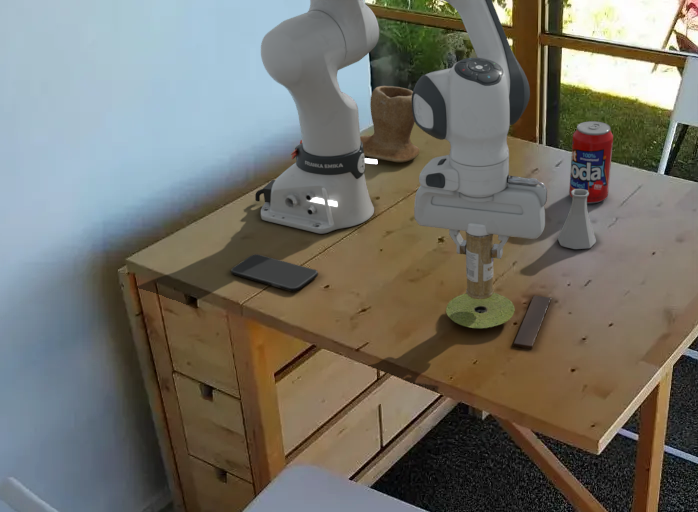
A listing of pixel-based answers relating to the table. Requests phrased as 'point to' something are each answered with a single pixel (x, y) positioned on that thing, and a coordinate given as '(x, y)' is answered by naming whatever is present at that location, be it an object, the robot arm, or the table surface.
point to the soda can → (591, 160)
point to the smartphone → (274, 272)
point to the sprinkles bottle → (479, 262)
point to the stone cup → (391, 125)
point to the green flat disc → (480, 310)
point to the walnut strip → (532, 322)
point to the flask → (577, 223)
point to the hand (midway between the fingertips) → (479, 254)
